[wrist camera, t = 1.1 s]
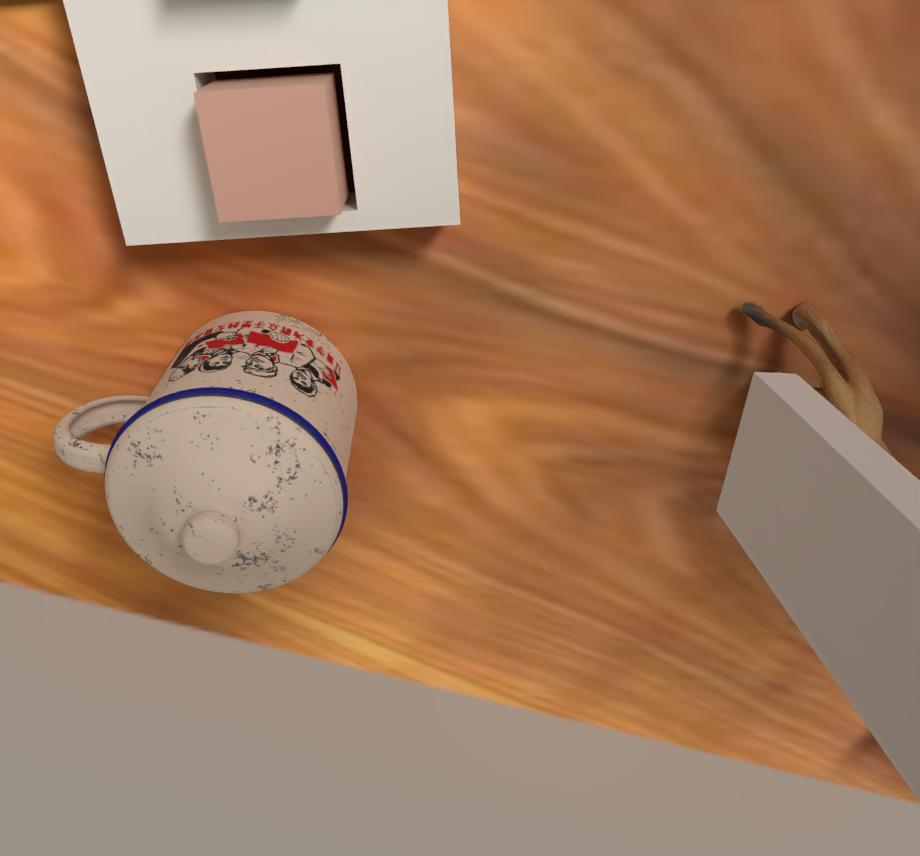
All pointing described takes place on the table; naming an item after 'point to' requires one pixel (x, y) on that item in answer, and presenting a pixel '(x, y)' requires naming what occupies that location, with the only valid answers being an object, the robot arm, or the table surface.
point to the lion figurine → (830, 366)
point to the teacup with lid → (228, 454)
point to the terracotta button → (273, 146)
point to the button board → (258, 47)
